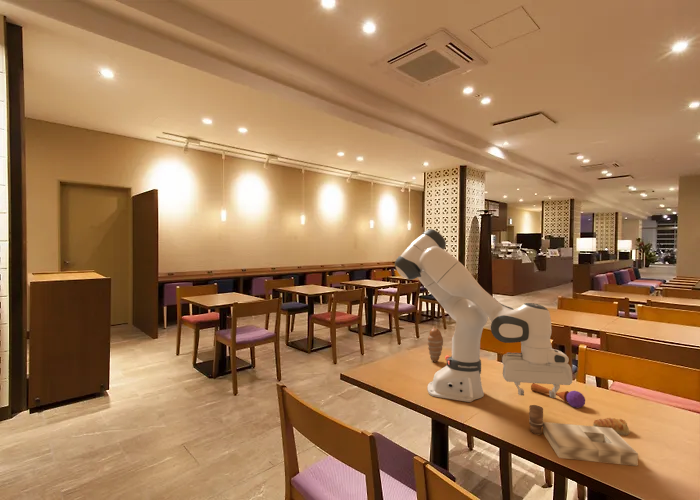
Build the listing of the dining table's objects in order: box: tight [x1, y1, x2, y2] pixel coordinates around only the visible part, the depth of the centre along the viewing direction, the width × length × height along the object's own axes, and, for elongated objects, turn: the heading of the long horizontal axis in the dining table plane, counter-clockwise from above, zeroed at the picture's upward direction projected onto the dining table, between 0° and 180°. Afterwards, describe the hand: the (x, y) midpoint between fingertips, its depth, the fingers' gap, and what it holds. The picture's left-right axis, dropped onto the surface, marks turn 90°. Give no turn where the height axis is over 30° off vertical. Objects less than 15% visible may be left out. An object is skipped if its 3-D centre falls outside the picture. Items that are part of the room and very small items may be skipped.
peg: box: [528, 404, 544, 436], centre depth 118 cm, size 4×4×8 cm
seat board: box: [542, 421, 639, 467], centre depth 109 cm, size 20×14×4 cm
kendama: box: [530, 383, 586, 409], centre depth 143 cm, size 6×6×20 cm
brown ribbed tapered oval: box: [427, 326, 444, 363], centre depth 188 cm, size 9×8×18 cm
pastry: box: [592, 417, 630, 436], centre depth 120 cm, size 9×7×4 cm
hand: (536, 395), depth 118 cm, fingers open, 8 cm apart
